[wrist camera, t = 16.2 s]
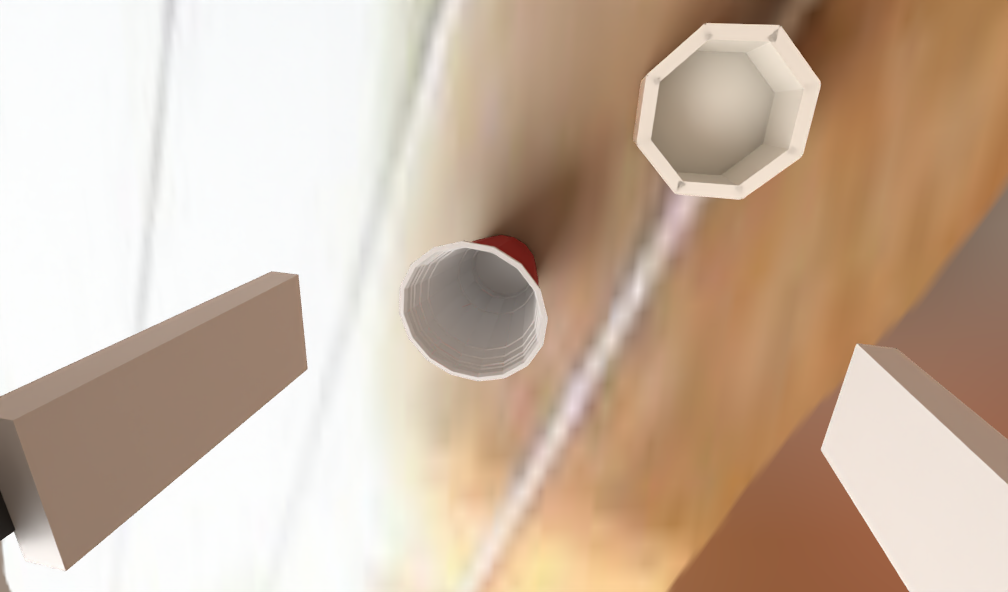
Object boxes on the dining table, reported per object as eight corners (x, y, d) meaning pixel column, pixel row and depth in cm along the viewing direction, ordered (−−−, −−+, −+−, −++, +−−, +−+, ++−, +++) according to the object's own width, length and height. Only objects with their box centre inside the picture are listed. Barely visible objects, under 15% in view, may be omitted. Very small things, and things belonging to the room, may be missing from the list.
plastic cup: (433, 297, 48) (380, 352, 37) (466, 190, 44) (416, 216, 33) (538, 339, 47) (516, 408, 36) (581, 235, 43) (571, 277, 32)
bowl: (626, 178, 41) (629, 190, 35) (647, 36, 37) (653, 21, 31) (762, 189, 39) (790, 203, 33) (797, 41, 35) (836, 26, 29)
